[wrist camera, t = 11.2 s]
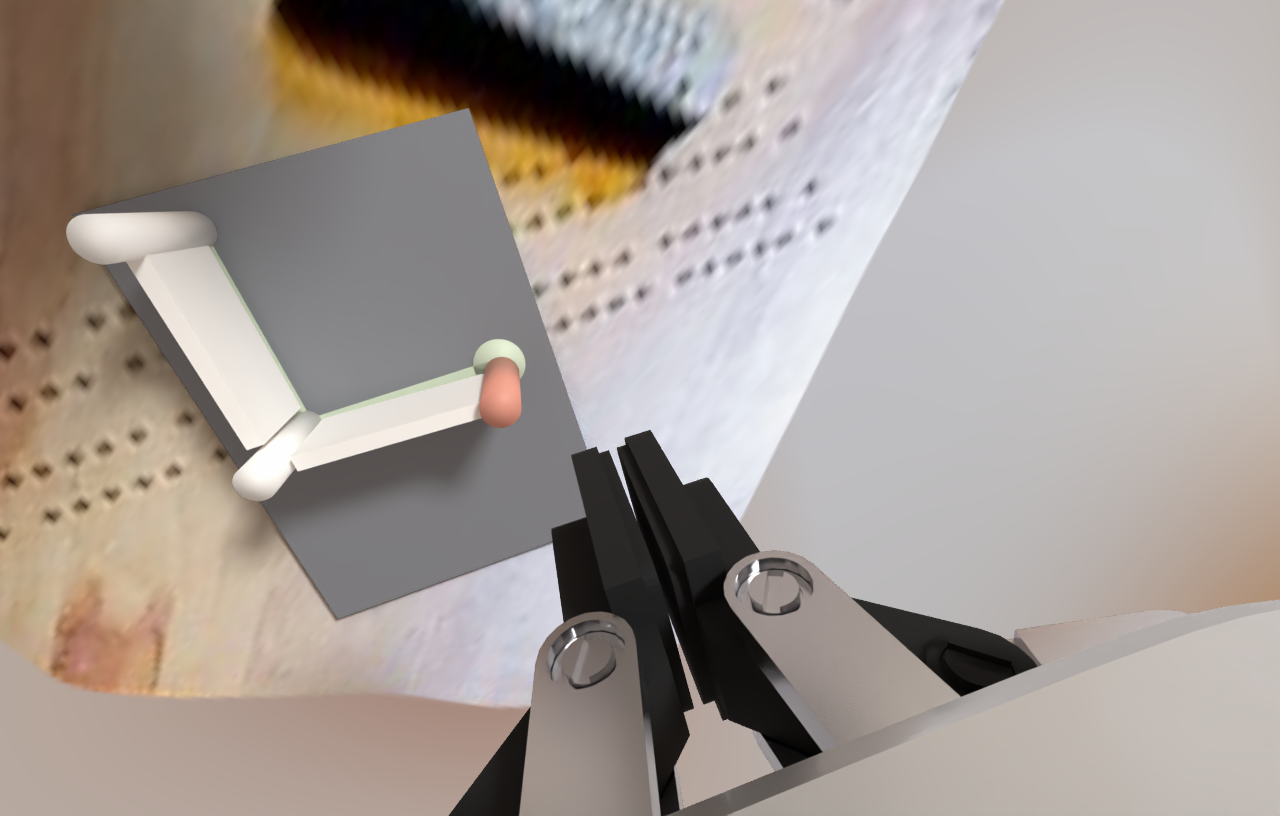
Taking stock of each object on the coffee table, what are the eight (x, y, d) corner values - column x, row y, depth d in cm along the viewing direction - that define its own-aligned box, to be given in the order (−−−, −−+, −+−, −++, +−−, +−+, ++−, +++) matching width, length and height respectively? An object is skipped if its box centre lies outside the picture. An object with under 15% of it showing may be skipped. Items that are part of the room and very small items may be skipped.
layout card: (81, 214, 26) (70, 214, 25) (469, 110, 28) (468, 107, 27) (340, 612, 36) (337, 620, 36) (609, 515, 38) (611, 521, 38)
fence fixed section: (165, 217, 26) (54, 221, 20) (204, 206, 26) (105, 208, 20) (299, 443, 31) (246, 506, 25) (331, 433, 31) (285, 493, 25)
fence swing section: (336, 437, 31) (299, 488, 26) (320, 406, 30) (278, 451, 25) (523, 384, 32) (526, 421, 27) (513, 352, 32) (514, 384, 26)
